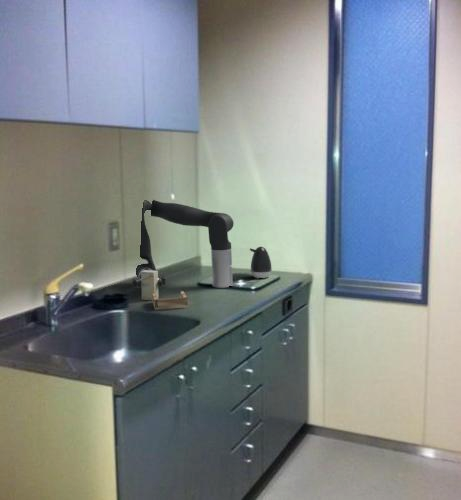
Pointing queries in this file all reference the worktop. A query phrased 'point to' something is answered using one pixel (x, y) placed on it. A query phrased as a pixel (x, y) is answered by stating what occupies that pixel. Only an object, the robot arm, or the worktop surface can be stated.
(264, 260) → the pump dispenser
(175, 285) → the worktop surface
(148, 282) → the skincare box
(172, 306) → the brown wooden tray
